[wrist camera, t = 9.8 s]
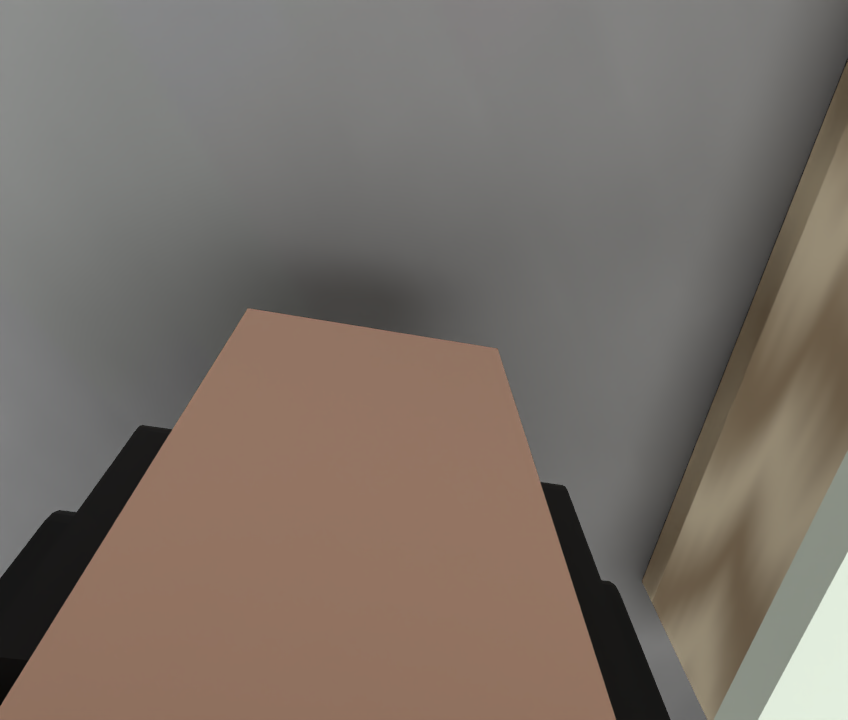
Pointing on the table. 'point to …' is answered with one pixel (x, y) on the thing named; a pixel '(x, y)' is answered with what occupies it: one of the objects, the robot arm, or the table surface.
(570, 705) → the salmon rectangular block
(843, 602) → the lid
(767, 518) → the tan wooden low box
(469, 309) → the table surface
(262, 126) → the table surface
